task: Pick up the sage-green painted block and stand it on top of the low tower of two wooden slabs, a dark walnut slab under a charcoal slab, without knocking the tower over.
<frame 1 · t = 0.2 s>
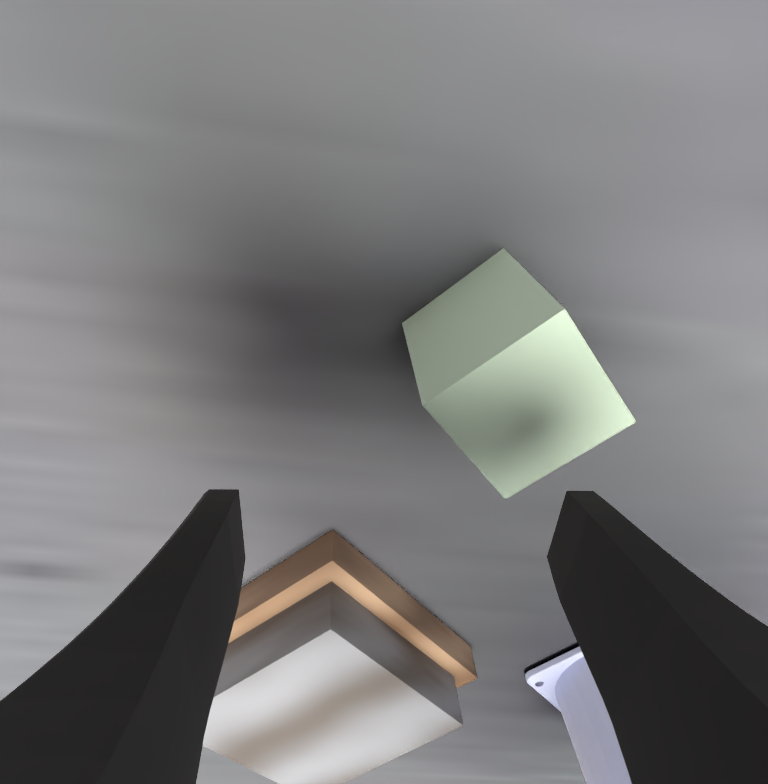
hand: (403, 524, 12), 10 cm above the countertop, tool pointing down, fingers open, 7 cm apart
tower top: (320, 675, 27), point 2 cm above the countertop, touching tower base
tower base: (320, 632, 29), on the countertop, touching tower top
green block: (483, 330, 20), on the countertop
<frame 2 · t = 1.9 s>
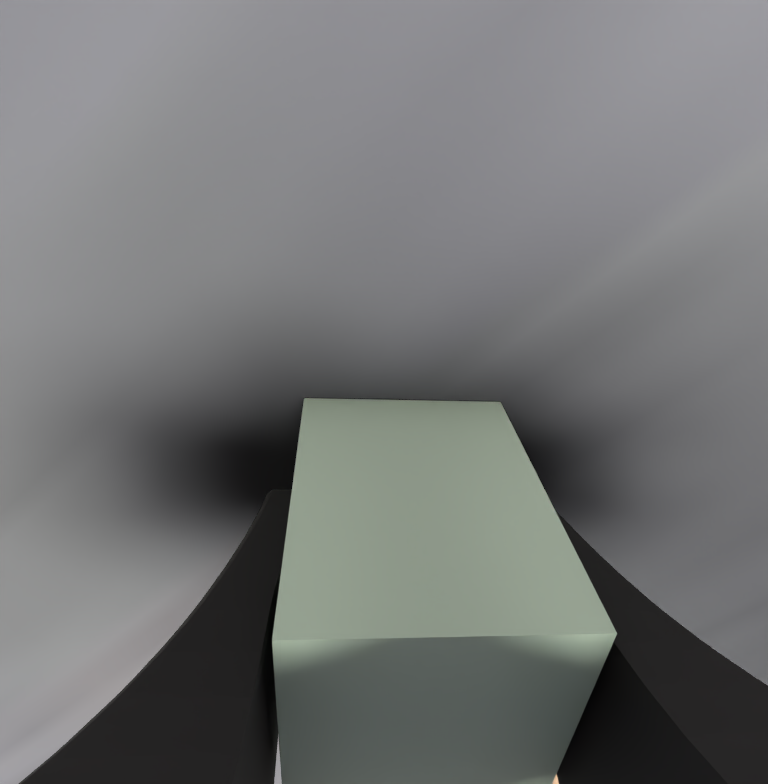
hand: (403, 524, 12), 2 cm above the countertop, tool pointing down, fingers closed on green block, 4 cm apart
green block: (396, 478, 13), on the countertop, touching gripper
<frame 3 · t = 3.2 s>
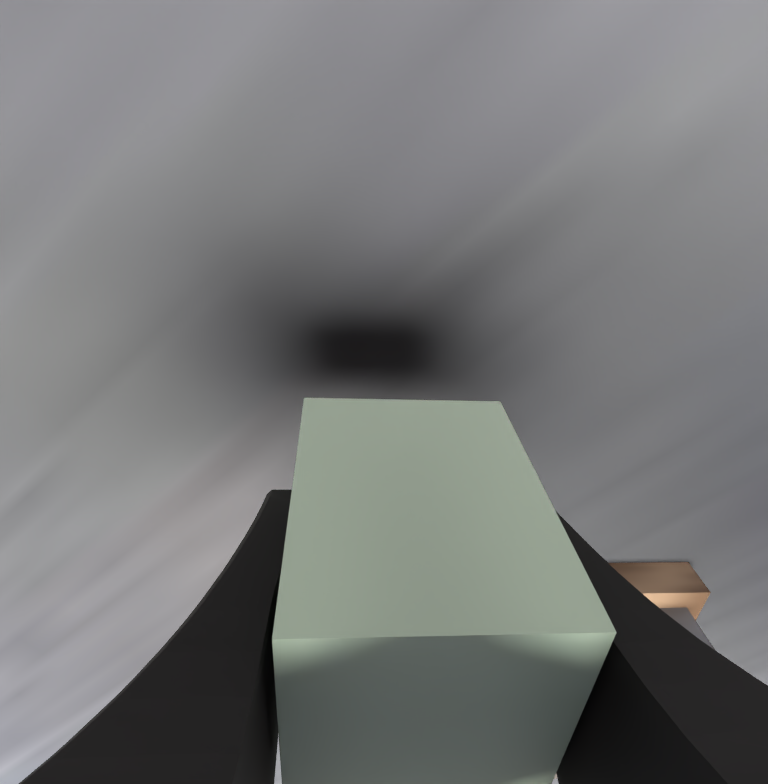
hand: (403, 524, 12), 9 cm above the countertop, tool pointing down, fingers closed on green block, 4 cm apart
tower top: (561, 674, 27), point 2 cm above the countertop, touching tower base
tower base: (541, 630, 29), on the countertop, touching tower top
green block: (396, 477, 13), point 7 cm above the countertop, touching gripper
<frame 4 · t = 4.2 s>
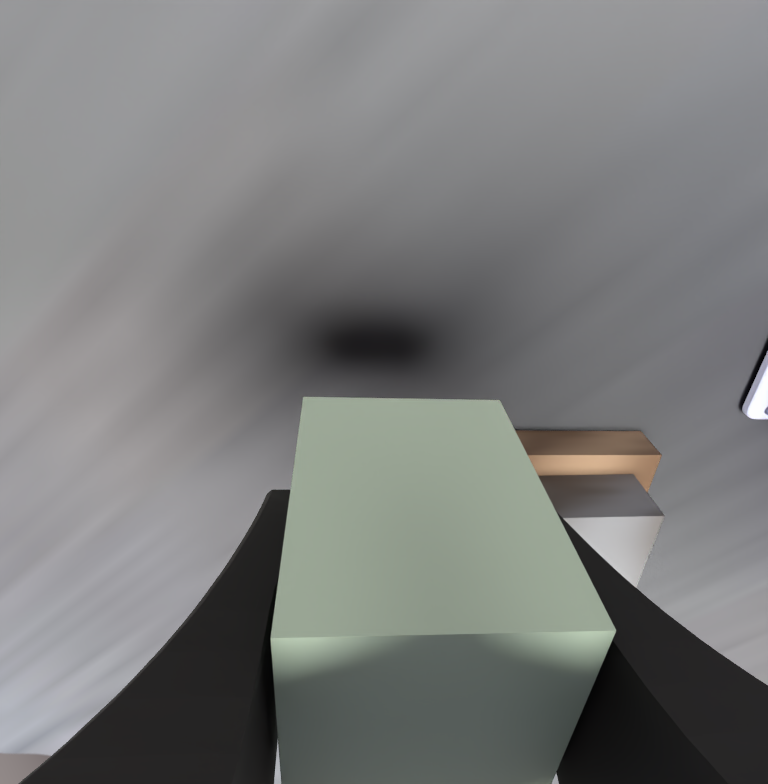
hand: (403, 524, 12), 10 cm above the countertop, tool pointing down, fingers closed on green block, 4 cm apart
tower top: (499, 561, 24), point 2 cm above the countertop, touching tower base
tower base: (484, 522, 26), on the countertop, touching tower top
green block: (396, 476, 13), point 8 cm above the countertop, touching gripper
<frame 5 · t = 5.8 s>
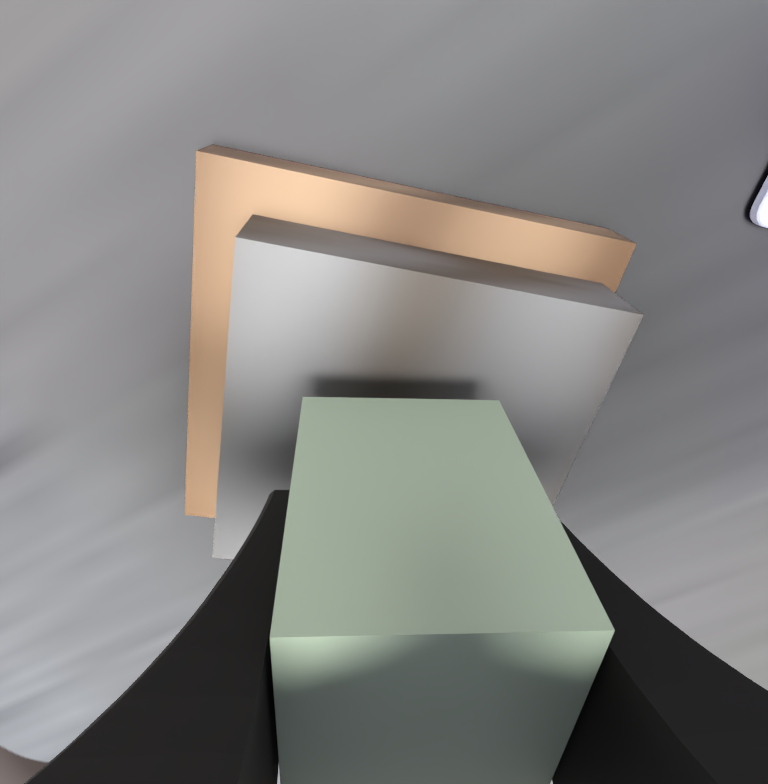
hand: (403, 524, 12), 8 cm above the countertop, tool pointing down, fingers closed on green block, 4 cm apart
tower top: (397, 403, 17), point 2 cm above the countertop, touching tower base
tower base: (380, 359, 19), on the countertop, touching tower top
green block: (395, 476, 13), point 6 cm above the countertop, touching gripper
when the fingers open (8 cm above the countertop, at t = 6.1 s): green block drops 2 cm, point 4 cm above the countertop.
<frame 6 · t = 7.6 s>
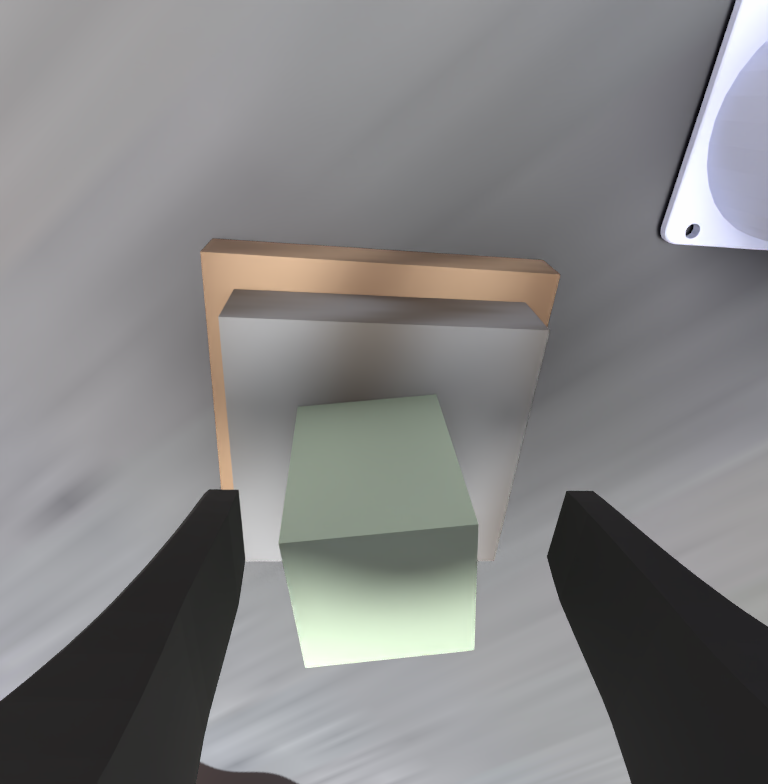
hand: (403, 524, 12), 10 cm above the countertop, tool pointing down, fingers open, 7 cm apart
tower top: (374, 419, 20), point 2 cm above the countertop, touching tower base
tower base: (370, 385, 23), on the countertop, touching tower top
green block: (372, 456, 18), point 4 cm above the countertop
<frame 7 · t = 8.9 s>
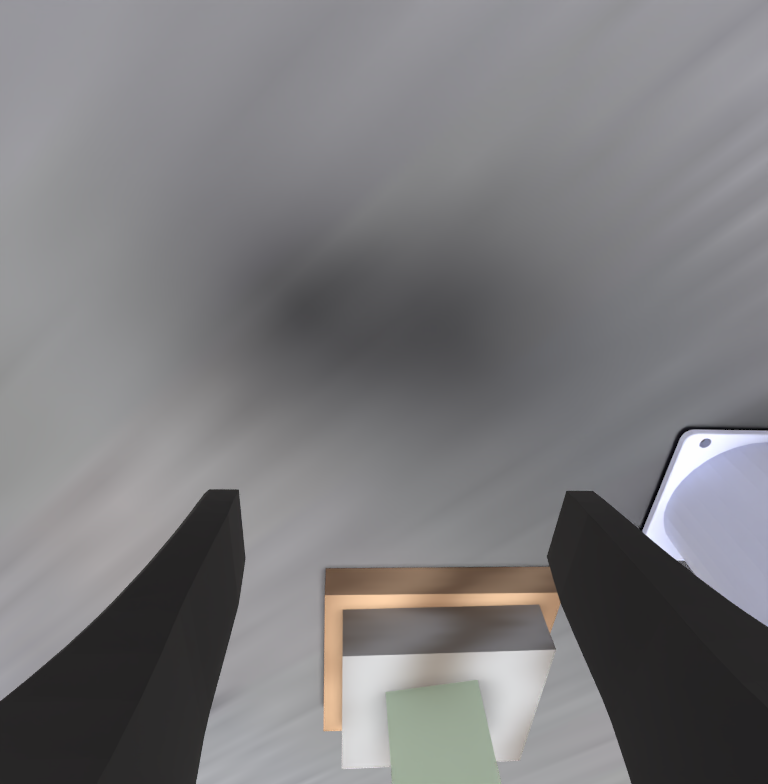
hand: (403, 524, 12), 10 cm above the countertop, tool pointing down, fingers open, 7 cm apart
tower top: (433, 667, 29), point 2 cm above the countertop, touching green block, tower base
tower base: (427, 627, 31), on the countertop, touching tower top
green block: (434, 711, 27), point 4 cm above the countertop, touching tower top
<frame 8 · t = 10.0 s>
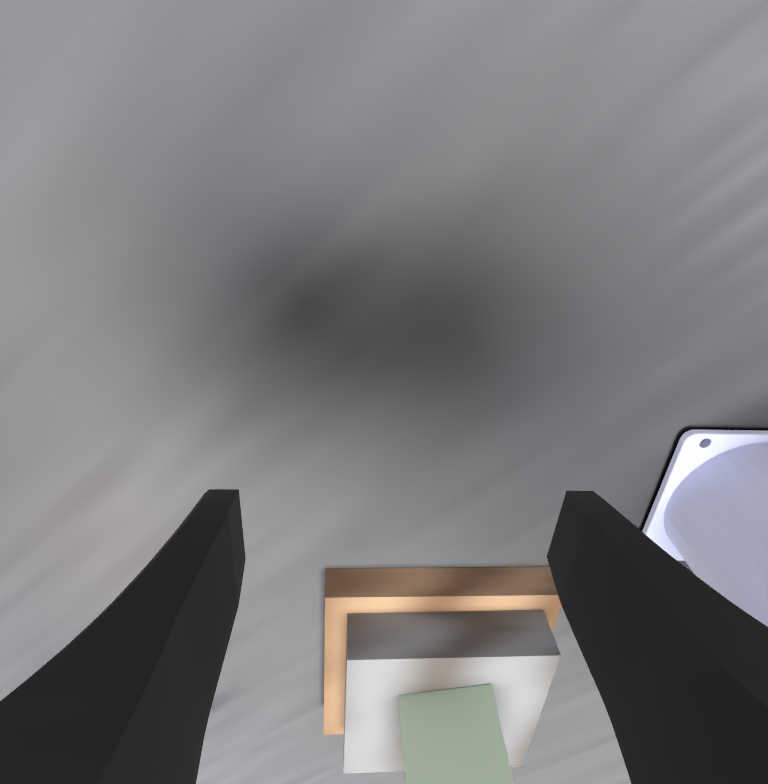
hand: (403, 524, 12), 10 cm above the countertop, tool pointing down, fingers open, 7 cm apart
tower top: (436, 671, 29), point 2 cm above the countertop, touching tower base
tower base: (428, 630, 31), on the countertop, touching tower top
green block: (447, 715, 27), point 4 cm above the countertop
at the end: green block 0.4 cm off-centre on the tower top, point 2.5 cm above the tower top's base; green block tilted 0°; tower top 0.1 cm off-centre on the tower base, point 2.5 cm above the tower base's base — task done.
